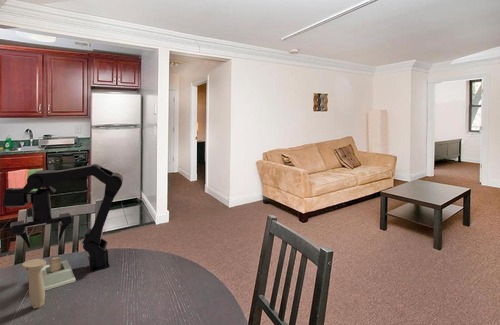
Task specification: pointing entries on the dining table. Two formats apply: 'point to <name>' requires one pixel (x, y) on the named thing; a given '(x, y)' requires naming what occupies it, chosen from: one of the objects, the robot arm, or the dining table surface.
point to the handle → (35, 281)
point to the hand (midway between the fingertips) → (44, 244)
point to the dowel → (55, 264)
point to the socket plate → (57, 276)
